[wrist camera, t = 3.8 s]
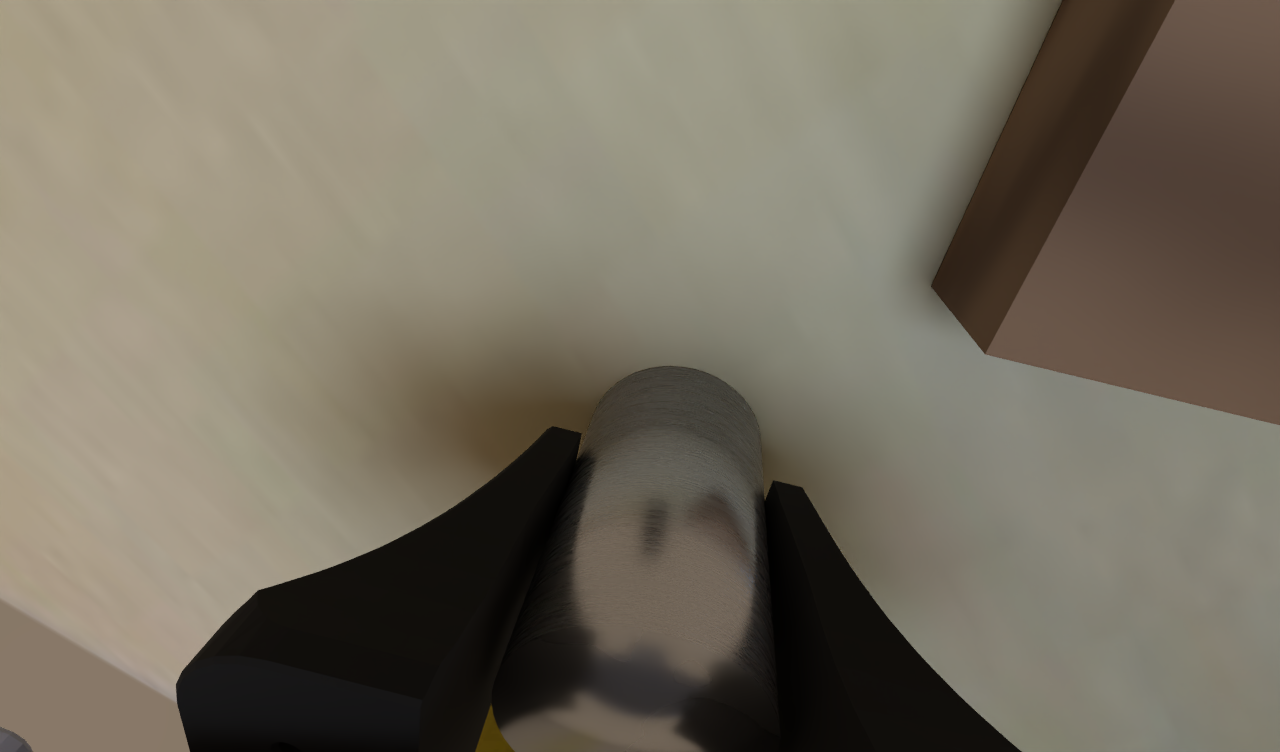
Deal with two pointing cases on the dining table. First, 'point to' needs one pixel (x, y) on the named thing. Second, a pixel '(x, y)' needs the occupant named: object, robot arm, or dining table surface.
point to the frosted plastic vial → (651, 585)
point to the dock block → (1136, 206)
